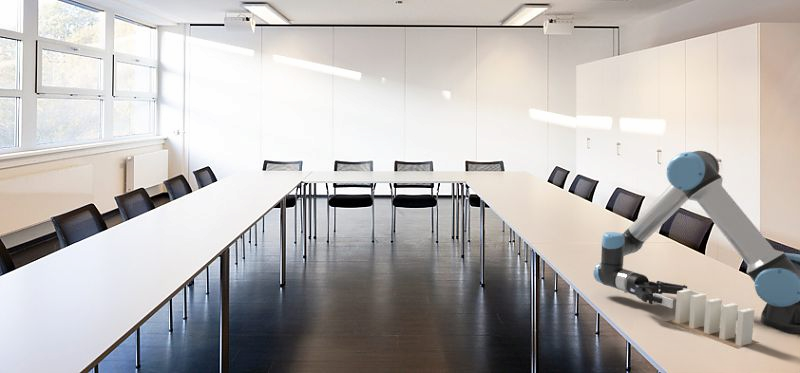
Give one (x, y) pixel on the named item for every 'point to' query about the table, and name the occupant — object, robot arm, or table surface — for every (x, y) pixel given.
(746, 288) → the table surface
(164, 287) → the table surface
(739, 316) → the domino
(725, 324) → the domino
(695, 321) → the domino
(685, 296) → the domino
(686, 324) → the board
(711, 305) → the domino
